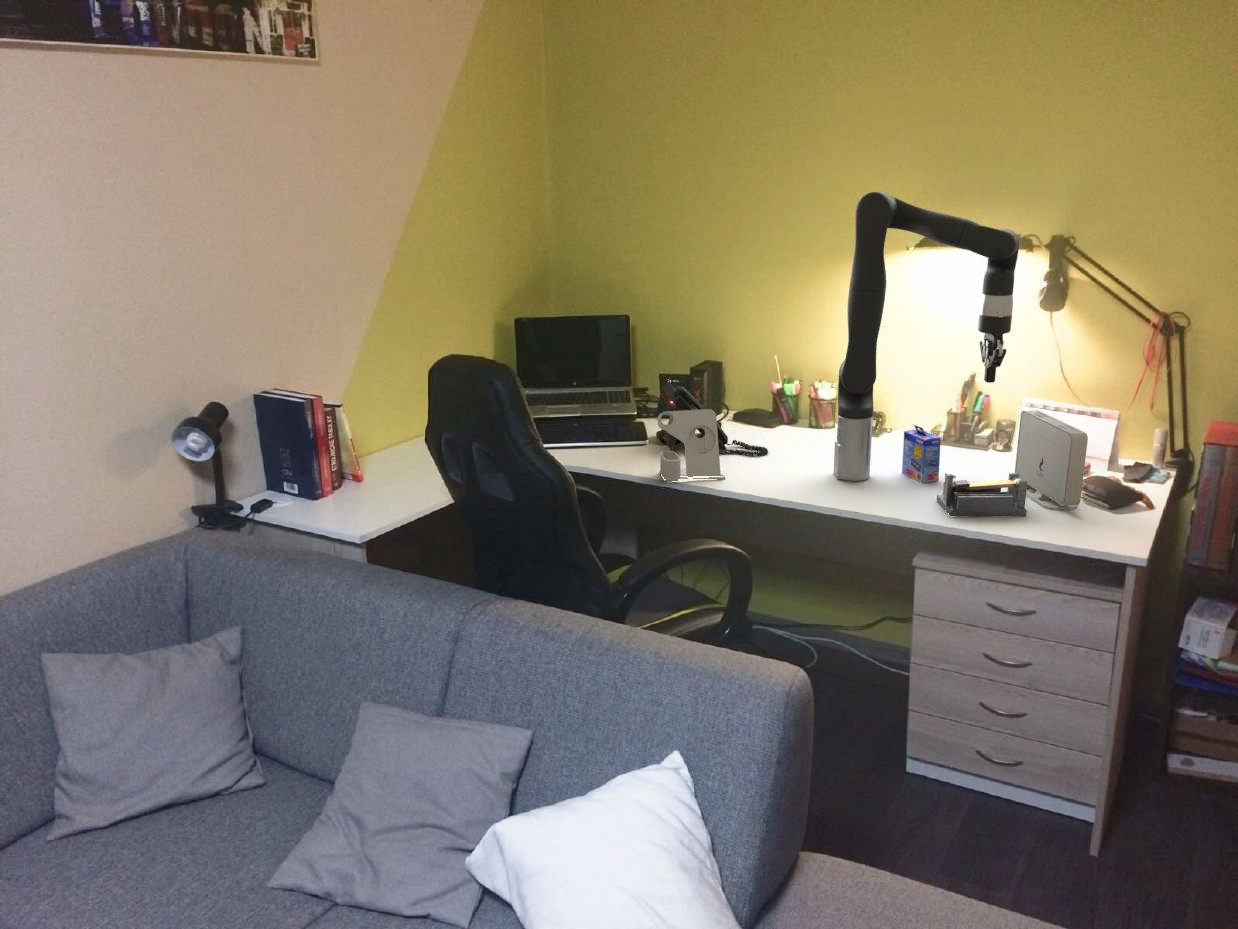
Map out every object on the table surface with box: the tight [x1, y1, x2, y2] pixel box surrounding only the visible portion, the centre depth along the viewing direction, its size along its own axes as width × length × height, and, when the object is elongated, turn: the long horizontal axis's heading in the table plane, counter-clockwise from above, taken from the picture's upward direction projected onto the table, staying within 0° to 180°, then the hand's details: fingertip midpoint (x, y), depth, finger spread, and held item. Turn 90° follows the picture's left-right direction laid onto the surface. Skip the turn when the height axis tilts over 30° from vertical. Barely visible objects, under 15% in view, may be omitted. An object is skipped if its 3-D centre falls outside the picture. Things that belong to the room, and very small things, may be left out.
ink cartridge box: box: [901, 424, 942, 483], centre depth 263 cm, size 10×6×14 cm, turn 19°
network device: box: [1014, 409, 1089, 511], centre depth 244 cm, size 26×9×20 cm, turn 5°
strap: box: [953, 477, 1020, 491], centre depth 238 cm, size 16×4×2 cm, turn 88°
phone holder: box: [657, 408, 727, 484], centre depth 267 cm, size 17×10×18 cm, turn 98°
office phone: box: [662, 381, 769, 457], centre depth 296 cm, size 29×28×20 cm
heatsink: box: [936, 471, 1028, 518], centre depth 238 cm, size 18×12×9 cm, turn 88°
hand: (989, 381), depth 243 cm, fingers closed
